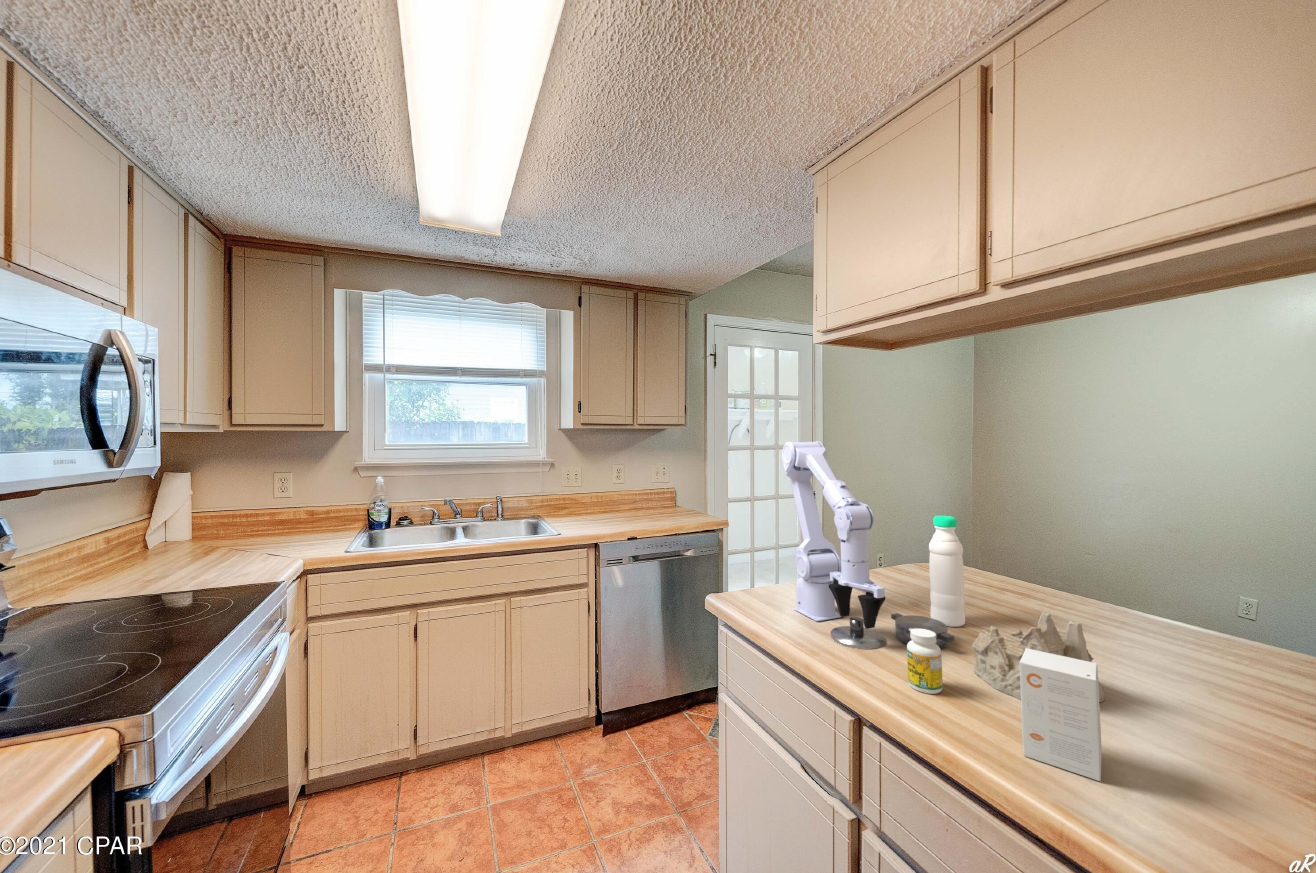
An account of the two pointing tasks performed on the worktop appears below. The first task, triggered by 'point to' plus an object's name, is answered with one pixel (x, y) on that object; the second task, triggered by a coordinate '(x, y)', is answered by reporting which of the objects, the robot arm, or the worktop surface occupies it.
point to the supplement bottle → (924, 662)
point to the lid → (857, 635)
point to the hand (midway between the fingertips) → (856, 621)
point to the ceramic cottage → (1005, 652)
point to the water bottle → (946, 573)
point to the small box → (1061, 712)
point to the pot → (920, 622)
